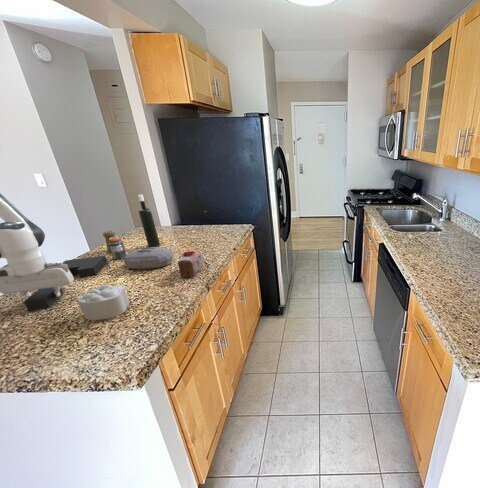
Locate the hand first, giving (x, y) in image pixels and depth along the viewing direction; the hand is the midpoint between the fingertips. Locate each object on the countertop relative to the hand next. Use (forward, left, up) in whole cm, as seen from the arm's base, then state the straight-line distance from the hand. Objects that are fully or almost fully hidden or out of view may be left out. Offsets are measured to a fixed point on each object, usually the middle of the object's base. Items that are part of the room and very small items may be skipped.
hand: (45, 298), depth 99 cm
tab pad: (0, +1, -2) cm, 2 cm away
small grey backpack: (+31, +23, -2) cm, 39 cm away
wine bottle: (+26, +51, -2) cm, 57 cm away
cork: (+6, +52, -2) cm, 52 cm away
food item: (+51, +8, -2) cm, 51 cm away
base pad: (+1, +26, -2) cm, 26 cm away
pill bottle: (+13, +38, -2) cm, 40 cm away
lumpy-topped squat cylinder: (+24, -15, -2) cm, 28 cm away
